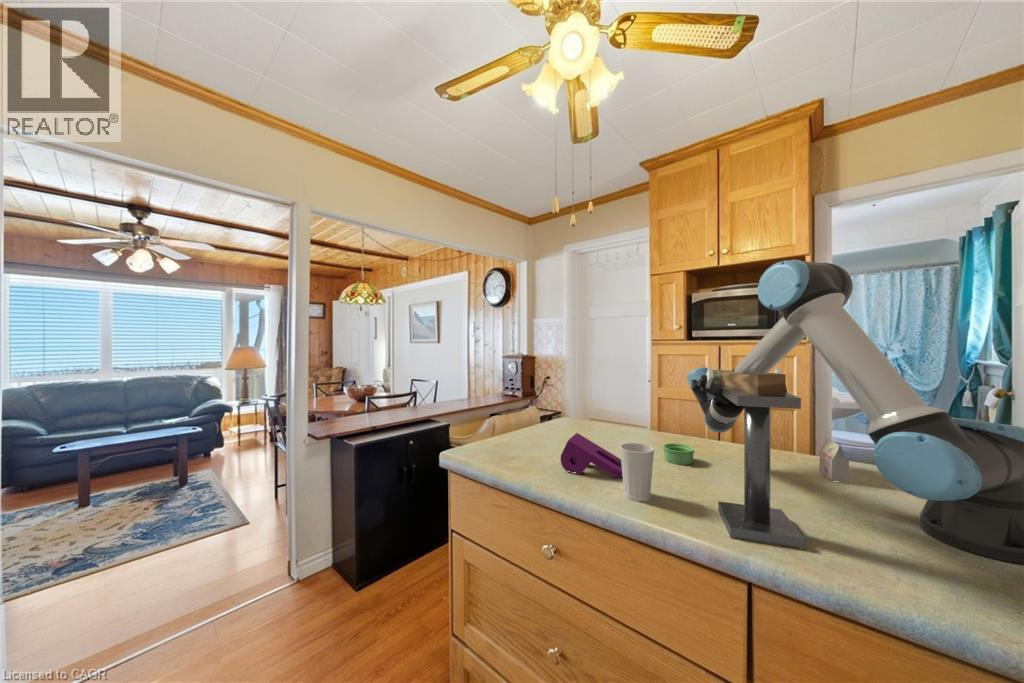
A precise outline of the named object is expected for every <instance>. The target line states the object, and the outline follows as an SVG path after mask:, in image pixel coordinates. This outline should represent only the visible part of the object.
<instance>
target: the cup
mask: <svg viewBox="0 0 1024 683" xmlns="http://www.w3.org/2000/svg"><path fill="white" fill-rule="evenodd" d="M619 450H620V459H621V463H622V475H623V478H622V486H623V496H624V495H625V496H624V497H625V498H626V497H627V498H626V499H628V498H629V499H628V500H630V499H631V500H630V501H633V500H635V501H634V502H640V501H643V502H648V501H650V500H651V498H652V497H651V496H652V495H651V494H652V491H651V490H652V479H653V478H652V477H653V464H654V454H655V448H654V447H653V446H651V445H649V444H644V443H639V442H625V443H622V444H620V446H619ZM649 499H650V500H649ZM647 500H648V501H647Z"/></svg>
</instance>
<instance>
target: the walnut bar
mask: <svg viewBox="0 0 1024 683" xmlns="http://www.w3.org/2000/svg"><path fill="white" fill-rule="evenodd" d="M786 377H787V376H786V374H784V373H782V374H779V373H774V372H768V373H749V374H744V373H738V372H734V371H732V370H728V369H727V370H725V369H713V380H712V382H713V383H715V384H719V385H725V386H729V387H733V388H737V389H740V390H744V391H748V392H749V393H751V394H755V395H778V396H786V388H787V384H786Z"/></svg>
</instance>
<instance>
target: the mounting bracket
mask: <svg viewBox="0 0 1024 683" xmlns="http://www.w3.org/2000/svg"><path fill="white" fill-rule="evenodd" d="M591 463H592V464H593V465H595V466H596V467H598V468H599V469H601V470H602V471H604V472H605V473H607V474H609V475H611V476H612V477H616V478H620V479H623V478H622V477H623V475H622V463H621V458H619V457H618V456H617V455H615V454H613V453H611V452H610V451H608V450H606V449H605V448H604V447H602V446H600V445H598V444H597V443H595V442H593V441H592V440H590V439H588V438H586V437H585V436H583V435H582V434H580V433H578V432H576V433H575V434H574V435H573V436H572V437H570V438H569V439H568V440H567V442H566V444H565V447H564V448H563V450H562V452H561V454H560V464H561V466H562V468H563V469H564V470H565V471H566V472H567V471H570V472H576V473H580V474H583V472H585V471H586V469H587V467H588V466H589V464H591Z"/></svg>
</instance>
